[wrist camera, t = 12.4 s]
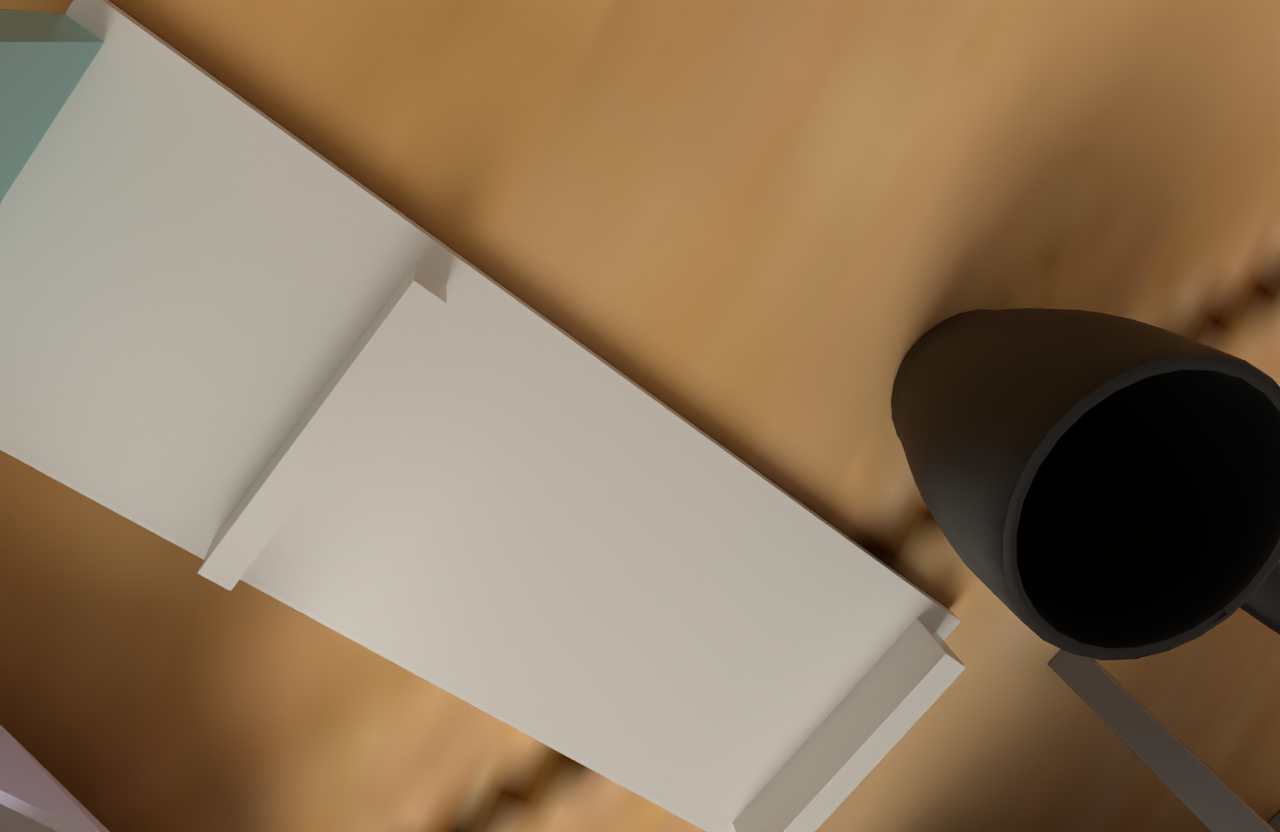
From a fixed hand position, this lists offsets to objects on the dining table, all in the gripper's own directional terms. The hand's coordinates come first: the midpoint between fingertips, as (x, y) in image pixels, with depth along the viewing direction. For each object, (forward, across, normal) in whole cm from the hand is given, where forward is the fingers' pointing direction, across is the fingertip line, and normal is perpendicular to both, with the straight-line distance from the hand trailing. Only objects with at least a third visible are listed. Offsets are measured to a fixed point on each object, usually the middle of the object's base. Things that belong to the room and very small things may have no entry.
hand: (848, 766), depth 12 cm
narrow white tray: (+20, +1, -12) cm, 23 cm away
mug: (+20, +12, -7) cm, 24 cm away
